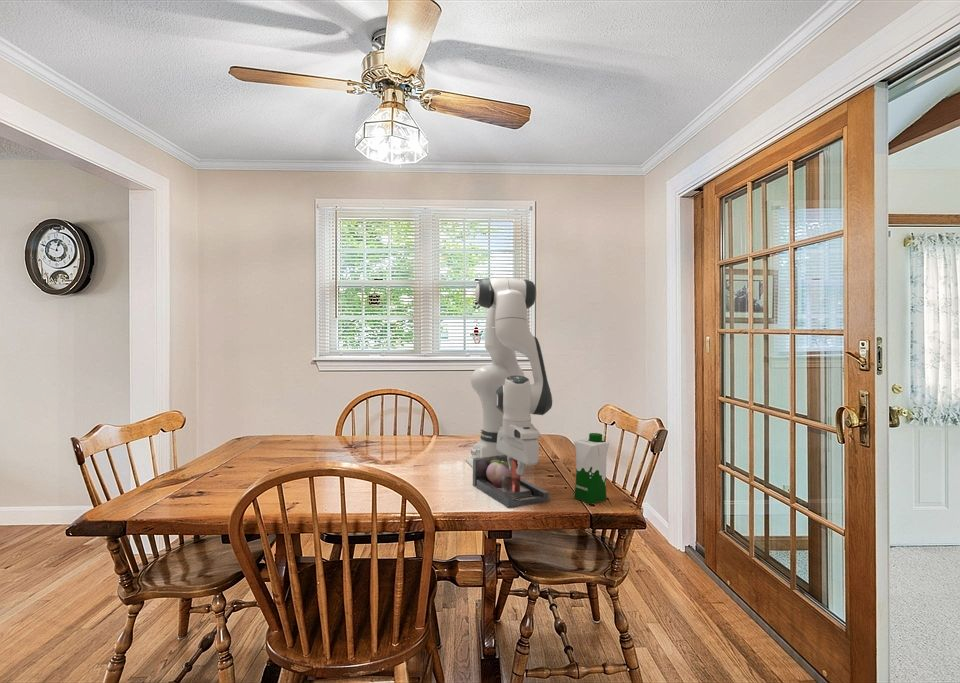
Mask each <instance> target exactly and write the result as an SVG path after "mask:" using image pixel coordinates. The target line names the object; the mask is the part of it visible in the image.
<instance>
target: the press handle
mask: <svg viewBox="0 0 960 683" xmlns="http://www.w3.org/2000/svg"><path fill="white" fill-rule="evenodd" d="M517 467H518V464H517V460H515V459H513V458H512V471H511V474H509V475H501V488H498V489H500V490H502V491H503V492H505V493H507V494H508V495H510V496H512V497H514V500H516V499H523V498H529V497H532V490H530V489H528V488H526V487H524V486H522V485H520V478H521V475H518V474H516V468H517Z"/></svg>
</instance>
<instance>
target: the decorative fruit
mask: <svg viewBox="0 0 960 683" xmlns="http://www.w3.org/2000/svg"><path fill="white" fill-rule="evenodd" d="M490 463H491V464H490ZM490 463H489V464H490V465H489V466H488V468H487V471H486V475H487V478H488V479H489V481H490V482H491V483H492V484H493V486H495V487H497V488H498V489H499V488H501V475H509V474H511V471H510V470H509V464H508V462H505V461H501V458H500V461H499V460H493V461H491V462H490Z"/></svg>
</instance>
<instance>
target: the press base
mask: <svg viewBox="0 0 960 683" xmlns="http://www.w3.org/2000/svg"><path fill="white" fill-rule="evenodd" d="M500 458H501V461H505V462H508V461H507V456H506V455H501V456H491V457H482V458H473V468H472V486H473V487H475V488H477V489H478V490H479V491H481V492H483V493H484V494H486V495H487V496H489V497H491V499H493V500H495V501H497V502H498V503H500V504H501V505H503V506H504V507H506V508H508V509H510V508H515V507H522V506H528V505H533V504H541V503H546V502H550V501H549V499H550V492H549V491H547V490H545V489H543V488H541V487H540V486H538V485H536V484H533V483H531V482H529V481H527V480H526V479H523V478H522V477H520V485H522V486H524V487H526V488H528V489H530V490H532V495H531V496H529V497H523V498H516V499H514V497H512V496H510V495H508V494H507V493H505V492H503V491H502V490H500V489H499V488H498V487H496V486H495V485H493V484H492V483H491V482H490V481H489V479H488V478H487V475H486V471H487V468H488V466H489V465H490V464H491V463H490V462H491V461H493V460H499V461H500ZM489 463H490V464H489Z"/></svg>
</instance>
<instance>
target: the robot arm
mask: <svg viewBox="0 0 960 683" xmlns="http://www.w3.org/2000/svg"><path fill="white" fill-rule="evenodd" d="M474 296H475V300H476V303H477V305H478V306H480V307H482V308H485V309H487V311H486V316H485V332H484V334H485V335H484V347H485V350H486V351H487V352H488V353H489V355H490V358H491V364H486V365H483V366H480V367H478V368H476V369H475V370H474V371H473V372H472V374H471V376H470V384H471V387H472V389H473V390H474V391H475V392H476V394H477V395H478V397H479V399H480V402H481V406H482V429H480V439H479V440H478V441H477V442H476V443H475V444H474V445H473V446H472V448H471V450H470V455H471V456H468V457H466V458H465V462H466V463H467V464H468V465H469V466H470V467H471V468H472V469H473V458H482V457H491V456H501V455H506V456H507V461H508V464H509V470H510V471H512V458H513V459H515V460H517V464H518V467H517V468H516V474H518V475H520V476H522V475H523V474H524V468H525V466H534V465H537V464H538V462H539V460H540V459H539V457H540V442H539V439H540V436H541V434H540V431H539V430H538V429H537V428H536V427H535V426H534V425H533V423H532V417H531V415H537V416H544V415H545V414H547V413H548V412H549V411H550V410H551V409H552V406H553V396H552V392H551V388H550V384H549V381H548V376H547V373H546V372H547V371H546V367H545V362H544V356H543V353H542V349H541V346H540V342H539V339H538V338H537V337H536V336H534V335H533V334H532V332H531V330H530V328H529V323H528V309H530V308H531V307H532V306H534V304H535V302H536V298H537V288H536V285H535V283H534V282H533V281H531V280H529V279H520V278H512V277H506V278H503V277H502V278H501V277H500V278H496V277H495V278H489V277H488V278H482V279H480V280H479V281H478V282H477V285H476V287H475V290H474ZM517 352H518V353H520V354H522V355H523V356H525V357H526V358H527V359H528V361H529V363H530V367H531V373H532V377H533V383H532V384H531V382H530V381H531V380H530V378H528V377H526V376H525V373H524V371H523V369H522V368H521V367H520V365H519V363H518V358H517V355H516V353H517Z"/></svg>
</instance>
